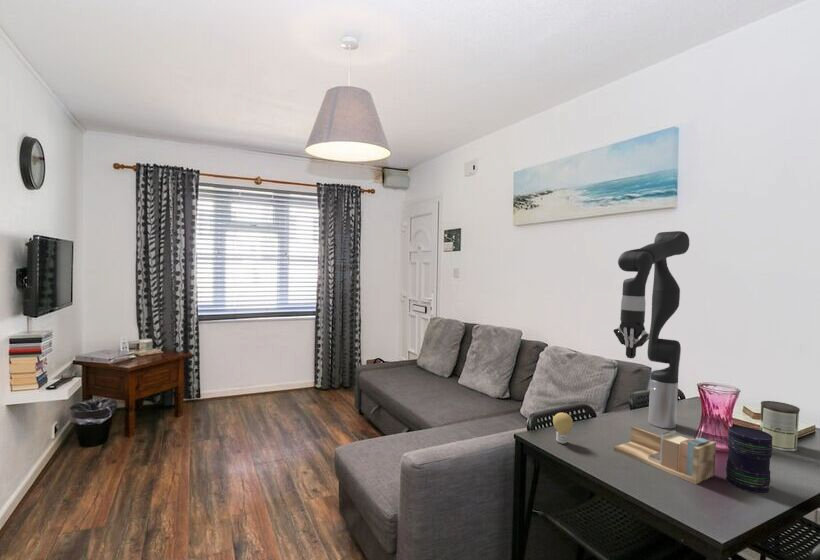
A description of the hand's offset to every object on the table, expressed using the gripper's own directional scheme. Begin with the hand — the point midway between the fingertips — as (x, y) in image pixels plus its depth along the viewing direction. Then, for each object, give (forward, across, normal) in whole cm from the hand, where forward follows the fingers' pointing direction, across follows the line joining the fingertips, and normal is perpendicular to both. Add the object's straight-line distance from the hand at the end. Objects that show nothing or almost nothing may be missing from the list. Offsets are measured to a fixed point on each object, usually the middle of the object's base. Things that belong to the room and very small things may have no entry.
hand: (630, 357), depth 150 cm
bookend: (+27, -17, +8) cm, 33 cm away
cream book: (+28, -21, +9) cm, 36 cm away
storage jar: (+29, -36, 0) cm, 46 cm away
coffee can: (+29, -28, -44) cm, 60 cm away
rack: (+28, -16, +8) cm, 34 cm away
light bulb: (+29, +8, +24) cm, 38 cm away
